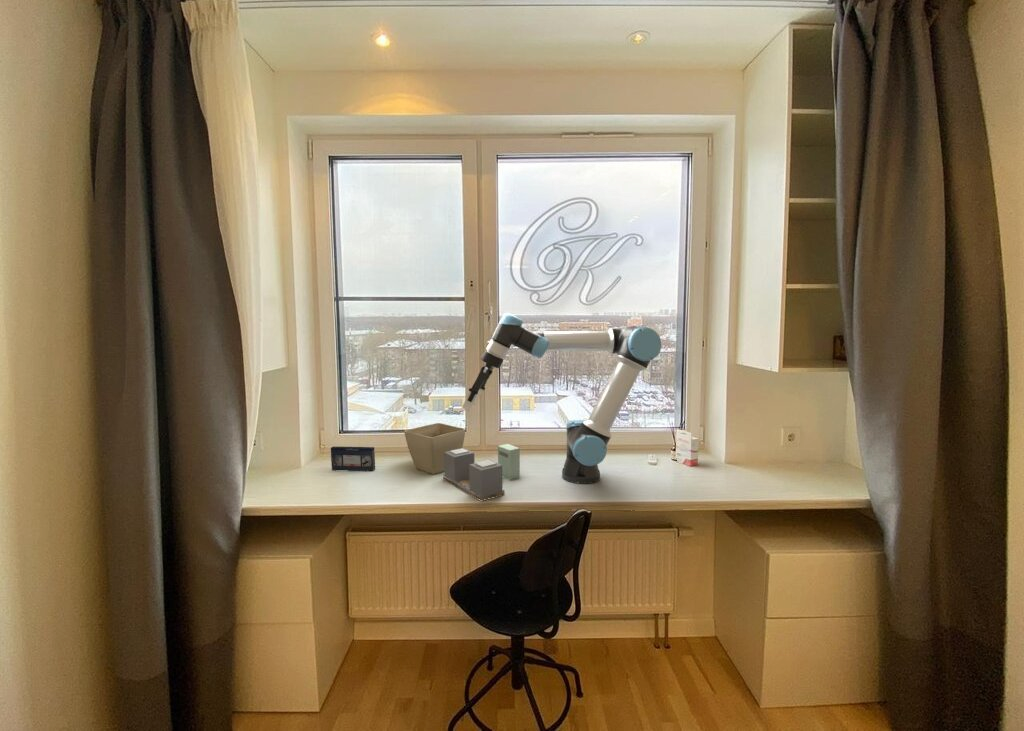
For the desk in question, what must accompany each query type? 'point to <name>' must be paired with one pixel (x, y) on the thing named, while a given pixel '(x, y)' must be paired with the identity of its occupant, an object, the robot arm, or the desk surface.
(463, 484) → the rail board
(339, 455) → the vhs cassette tape
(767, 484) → the desk surface
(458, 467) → the mounted modules
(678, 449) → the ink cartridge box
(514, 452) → the block
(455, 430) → the flower pot
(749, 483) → the desk surface
